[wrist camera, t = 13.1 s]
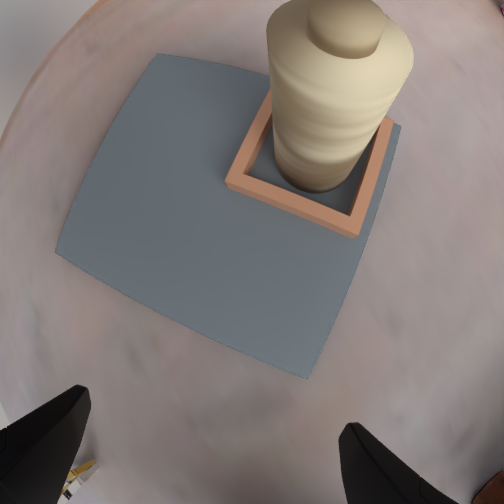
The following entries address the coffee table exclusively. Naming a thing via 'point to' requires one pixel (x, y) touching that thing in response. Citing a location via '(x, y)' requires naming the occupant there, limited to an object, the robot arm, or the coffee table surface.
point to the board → (221, 215)
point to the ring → (77, 480)
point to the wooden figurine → (492, 491)
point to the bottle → (331, 85)
